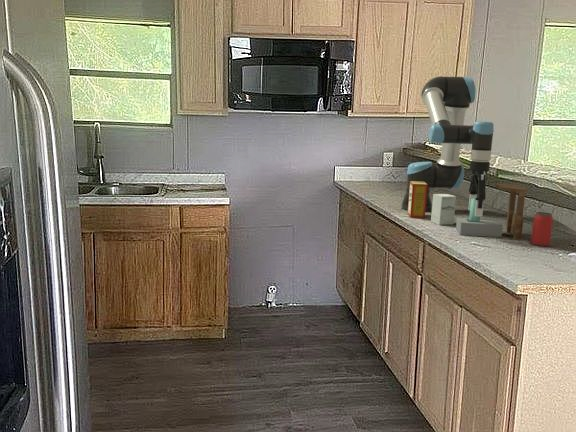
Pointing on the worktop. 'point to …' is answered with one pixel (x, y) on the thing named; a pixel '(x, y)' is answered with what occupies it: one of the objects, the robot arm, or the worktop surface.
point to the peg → (473, 212)
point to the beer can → (542, 229)
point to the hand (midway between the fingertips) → (475, 213)
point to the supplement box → (443, 209)
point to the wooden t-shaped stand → (513, 219)
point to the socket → (479, 227)
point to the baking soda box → (417, 199)
